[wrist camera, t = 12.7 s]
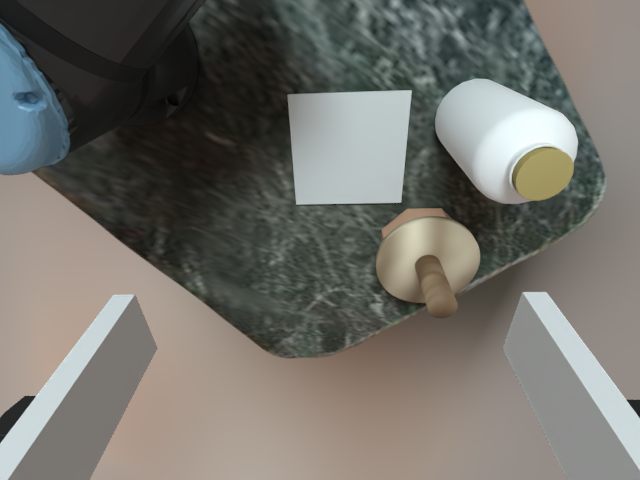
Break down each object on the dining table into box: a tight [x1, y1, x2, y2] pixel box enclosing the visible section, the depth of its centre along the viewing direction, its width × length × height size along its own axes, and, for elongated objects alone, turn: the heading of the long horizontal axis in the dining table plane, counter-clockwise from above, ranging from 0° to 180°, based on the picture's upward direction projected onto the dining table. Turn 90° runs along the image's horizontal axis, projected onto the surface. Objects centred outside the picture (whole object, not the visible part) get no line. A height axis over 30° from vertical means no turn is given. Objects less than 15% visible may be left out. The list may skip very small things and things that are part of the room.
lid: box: [376, 216, 480, 318], centre depth 43 cm, size 13×13×9 cm
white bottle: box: [435, 79, 578, 204], centre depth 34 cm, size 8×8×18 cm
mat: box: [287, 90, 412, 205], centre depth 45 cm, size 14×14×1 cm
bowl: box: [381, 208, 452, 242], centre depth 49 cm, size 11×11×5 cm
